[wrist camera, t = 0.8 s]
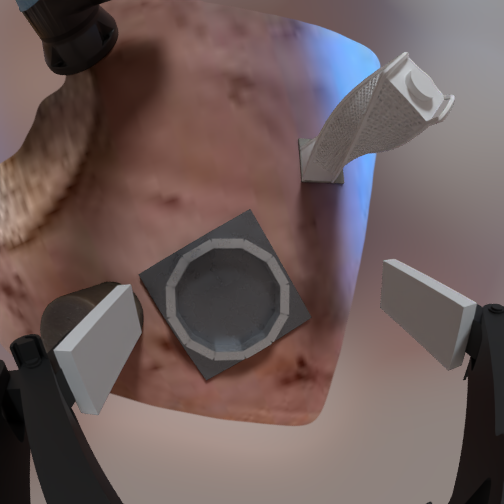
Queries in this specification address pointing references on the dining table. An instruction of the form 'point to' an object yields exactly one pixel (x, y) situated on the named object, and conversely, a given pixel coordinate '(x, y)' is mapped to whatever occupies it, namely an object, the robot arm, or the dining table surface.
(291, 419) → the dining table surface
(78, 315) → the pillar candle
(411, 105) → the skyscraper
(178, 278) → the duct collar
